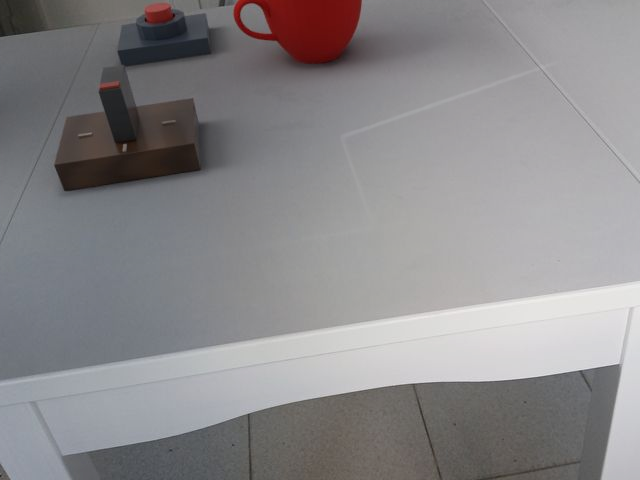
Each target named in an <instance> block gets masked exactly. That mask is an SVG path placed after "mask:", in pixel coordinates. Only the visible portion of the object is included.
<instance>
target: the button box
mask: <svg viewBox="0 0 640 480" xmlns="http://www.w3.org/2000/svg"><path fill="white" fill-rule="evenodd" d="M171 9H172V13H173V17H174V18H173V19H171V20H169V21H166V22H161V23H147V19H146V16H145V13H144V14H141V15H140V16H138V17H137V18H136V19H135V22H133V23H126V24H121V27H120V33H119V38H118V44H117V50H116V52H117V55H118V58H119V61H120V65H124V66H125V67H131V66H137V65H144V64H151V63H158V62H166V61H172V60H179V59H185V58H186V59H187V58H192V57H199V56H206V55H211V54H212V51H211V38H210V28H209V23H208V18H207V17H208V16H207V13H205V12H203V13H197V14H190V15H189V14H188V15H185V12H184V11H182V10H180V9H177V8H176V9H175V8H171Z"/></svg>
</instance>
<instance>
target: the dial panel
mask: <svg viewBox="0 0 640 480" xmlns="http://www.w3.org/2000/svg"><path fill="white" fill-rule="evenodd" d="M195 104H196V103H195V100H194V98H193V97H189V98H183V99H178V100H177V99H176V100H171V101H164V102H157V103H151V104H143V105H138V106H137V105H136V107H137V110H138V114H139V117H138V128H137V139H136V140H133V141H127V142H120V143H115V142H114V139H113V135H112V132H111V129H110V126H109V123H108V120H107V117H106V114H105V111H104V110H103V111H98V112H97V111H96V112H90V113H86V114H85V113H84V114H77V115H71V116H70V115H69V116H66V118H65V123H64V126H63V129H62V133H61V137H60V141H59V145H58V148H57V152H56V155H55V159H54V163H53V166H54V168H55V171H56V173H57V177H58V178H59V181H60V184H61V186H62V189H63V191H64V192H66V191H72V190H79V189H85V188H91V187H98V186H99V187H100V186H105V185H112V184H117V183H124V182H131V181H136V180H137V181H138V180H143V179H149V178H155V177H161V176H167V175H175V174H180V173H188V172H195V171H200V170H201V169H202V167H201V144H200V143H201V142H200V121H199V117H198V113H197V110H196V105H195Z"/></svg>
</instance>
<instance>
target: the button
mask: <svg viewBox="0 0 640 480" xmlns="http://www.w3.org/2000/svg"><path fill="white" fill-rule="evenodd" d="M172 9H173V8H172V5H171V4H170V3H168V2H155V3H152V4H148V5H147V6H145V7H144V8H143V12H144V14H145V16H146V19H147V23H161V22H166V21H169V20H171V19H173V18H174V17H173V13H172Z"/></svg>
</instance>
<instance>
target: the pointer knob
mask: <svg viewBox="0 0 640 480" xmlns="http://www.w3.org/2000/svg"><path fill="white" fill-rule="evenodd" d="M130 83H131V82H130V80H129V76H128V73H127V70H126V66H124V65H121V64H119V65H113V66H107V67H102V71H101V77H100V81H99V86H98V90H97V91H98V95H99V98H100V101H101V104H102V107H103V111H105V114H106V117H107V120H108V123H109V126H110V129H111V132H112V135H113V139H114V142H115V143H120V142H127V141H133V140H136V139H137V128H138V117H139V114H138V110H137V104H136V100H135V97H134V94H133V90H132V87H131V84H130Z"/></svg>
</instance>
